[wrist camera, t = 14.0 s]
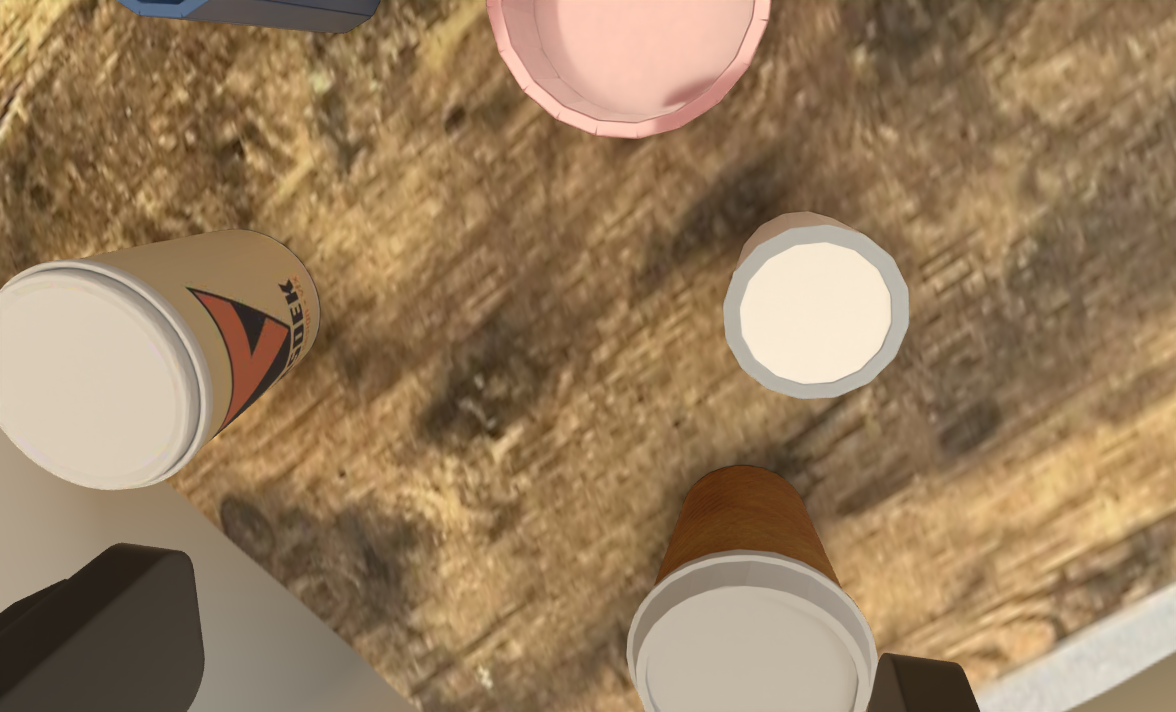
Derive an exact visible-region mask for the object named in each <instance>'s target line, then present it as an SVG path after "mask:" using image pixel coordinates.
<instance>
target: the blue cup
mask: <svg viewBox="0 0 1176 712" xmlns="http://www.w3.org/2000/svg"><path fill="white" fill-rule="evenodd" d="M117 1H118V2H120V3H121V4H123V5H124V6H125V7H127V8H128V9H130V10H131V11H133V12H134V13H136V14H137V15H141V16H146V17H157V18H168V19H179V20H190V21H201V22H212V23H223V24H234V25H245V26H256V27H267V28H278V29H289V30H300V31H311V32H327V33H344V32H345V33H347V32H348V31H350V30H352V29H353V28H355V27H356V26H358V25H360V24H361V23H363V22H365V21H366V20H368V19H369V18H371V16H373V14H374V12H375V10H376V8H377V6H378V4H379V2H380V0H117Z"/></svg>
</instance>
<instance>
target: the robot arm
mask: <svg viewBox="0 0 1176 712" xmlns="http://www.w3.org/2000/svg"><path fill="white" fill-rule="evenodd" d="M204 660H205V658H204V648H203V640H202V632H201V624H200V616H199V608H198V600H197V592H196V585H195V577H194V569H193V564H192V562H191V559H190V558H189V556H188V555H187V554H186V553H185V552H182V551H178V550H170V549H164V548H157V547H150V546H142V545H135V544H128V543H118V544H115V545H113V546H111V547H109V548H108V549H106V550H105V551H104V552H102V553H101V554H100V555H99V556H97V557H96V558H95V559H93V560H92V561H91V562H90V563H88V564H87V565H86V566H85V567H83V568H82V569H81V570H80V571H78V572H77V573H76V574H74V575H73V576H72V577H70V578H69V579H64V580H62V581H60V582H57V583H55V584H53V585H51V586H49V587H47V588H45V589H43V590H41V591H38V592H36V593H34V594H32V595H30V596H28V597H26V598H24V599H21V600H20V601H17V602H15V603H13V604H12V605H10V606H9V607H8V608H7V609H5V610H4V611H3V612H1V613H0V712H187V710H188V709H189V707H190V706H191V704H192V702H193V701H194V699H195V697H196V694H197V692H198V689H199V686H200V684H201V680H202V676H203V671H204ZM868 712H980V710H979V707H978V705H977V702H976V700H975V697H974V695H973V692H972V690H971V687H970V685H969V682H968V680H967V677H966V675H965V673H964V671H963V669H962V667H961V666H960V665H959V664H958V663H954V662H947V661H940V660H933V659H926V658H919V657H912V656H905V655H898V654H891V653H884V654H883V655H882V656H881V658H880V660H879V662H878V666H877V670H876V674H875V679H874V684H873V688H872V693H871V698H870V703H869V708H868Z"/></svg>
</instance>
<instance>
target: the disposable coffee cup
mask: <svg viewBox="0 0 1176 712" xmlns="http://www.w3.org/2000/svg"><path fill="white" fill-rule="evenodd" d="M627 661H628V666H629V671H630V676H631V680H632V682H633V684H634V686H635V688H636V690H637V693H638V695H639V697H640V699H641V701H642V704H643V706H644V709H645V711H646V712H865V710H866V708H867V703H868V702H869V700H870V698H871V693H872V688H873V684H874V679H875V674H876V670H877V651H876V647H875V642H874V638H873V634H872V632H871V629H870V626H869V624H868V622H867V621H866V619H865V617H864V616H863V614H862V613H861V611H860V610H859V608H858V606H857V605H856V603H855V602H854V600H852V599H851V598H850V597H849V596H848V595H847V594H846V593H845V592H844V591H843V590H842V588H841V586H840V584H839V582H838V579H837V577H836V575H835V573H834V571H833V568H832V566H831V564H830V562H829V560H828V558H827V555H826V553H825V551H824V548H823V546H822V544H821V542H820V540H819V538H818V535H817V533H816V531H815V529H814V527H813V524H812V522H811V520H810V518H809V516H808V513H807V511H806V509H805V506H804V504H803V501H802V499H801V497H800V496H799V494H798V493H797V491H796V490H795V489H794V487H793V486H792V485H790V484H789V483H788V482H787V481H786V480H785V479H784V478H782V477H780V476H779V475H777V474H776V473H774V472H771V471H768V470H766V469H763V468H758V467H753V466H741V465H737V466H732V467H726V468H722V469H719V470H717V471H714V472H711V473H710V474H708V475H706V476H705V477H703V478H702V479H701V480H700V481H698V482H697V483H696V484H695V485H694V486H693V488H692V489H691V490H690V491H689V493H688V494H687V497H686V499H685V501H684V503H683V507H682V510H681V513H680V515H679V518H678V521H677V523H676V527H675V529H674V532H673V535H672V538H671V540H670V543H669V546H668V548H667V552H666V554H665V557H664V560H663V562H662V565H661V568H660V571H659V574H658V576H657V579H656V582H655V585H654V587H653V588H652V589H651V591H650V592H649V594H648V595H647V596H646V598H645V599H644V601H643V602H642V603H641V605H640V606H639V608H638V609H637V610H636V613H635V615H634V618H633V620H632V623H631V627H630V630H629V634H628V641H627Z"/></svg>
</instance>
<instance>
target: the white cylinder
mask: <svg viewBox="0 0 1176 712" xmlns="http://www.w3.org/2000/svg"><path fill="white" fill-rule="evenodd" d="M723 316H724V327H725V338H726V341H727V343H728V345H729V347H730V348H731V350H732V352H733V354H734V356H735V357H736V359H737V361H738V363H739V365H740V367H741V368H742V369H743V370H744V371H745V372H747V373H748V374H749V375H750V376H752V377H753V378H754V379H755V380H757V381H758V382H759V383H761V384H762V385H763V386H764V387H766V388H767V389H768V390H772V391H775V392H778V393H782V394H785V395H788V396H792V397H795V398H798V399H814V398H829V397H838V396H840V395H842V394H845V393H847V392H849V391H851V390H854V389H856V388H858V387H860V386H863V385H865V384H867V383H869V382H871V381H872V380H873V379H874V378H875V377H876V376H877V375H878V374H879V373H880V372H881V371H882V370H883V369H884V368H885V367H886V366H887V365H888V364H889V363H890V362H891V361H892V360H893V359H894V358H895V356H896V354H897V352H898V349H899V347H900V345H901V342H902V340H903V337H904V335H905V333H906V330H907V328H908V326H909V294H908V288H907V286H906V284H905V281H904V279H903V277H902V275H901V273H900V271H899V269H898V267H897V265H896V263H895V261H894V259H893V257H891V256H890V255H889V254H888V253H886V252H885V251H884V250H883V249H882V248H880V247H879V246H878V245H877V244H875V243H874V242H873V241H872V240H871V239H869V238H868V237H867V236H866V235H864V234H862V233H860V232H858V231H856V230H855V229H853V228H851V227H849V226H847V225H845V224H843V223H841V222H839V221H837V220H835V219H833V218H830V217H827V216H823V215H820V214H816V213H813V212H809V211H804V212H795V213H786V214H781V215H780V216H778V217H776V218H774V219H772V220H770V221H768V222H766V223H764V224H762V225H761V226H759V228H758V229H757V230H756V231H755V232H754V233H753V235H752V236H751V237H750V238H749V239H748V240H747V242H746V243H745V244H744V246H743V248H742V251H741V254H740V257H739V260H738V262H737V265H736V268H735V271H734V274H733V277H732V280H731V283H730V286H729V289H728V292H727V295H726V298H725V301H724V304H723Z"/></svg>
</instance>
